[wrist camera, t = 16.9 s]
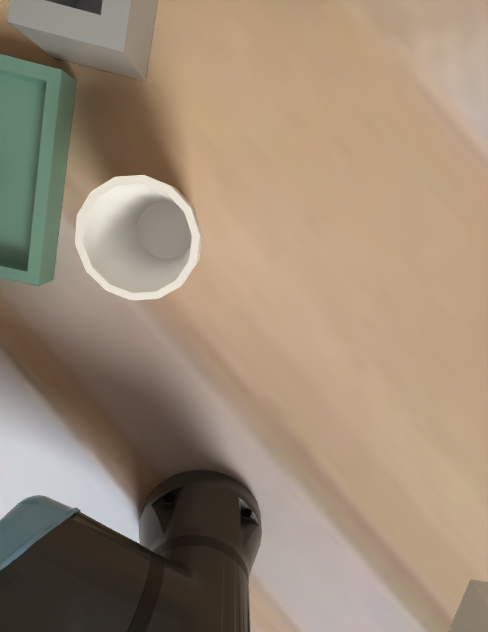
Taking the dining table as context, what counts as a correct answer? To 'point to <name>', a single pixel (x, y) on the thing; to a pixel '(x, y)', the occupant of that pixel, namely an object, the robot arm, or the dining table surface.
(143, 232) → the foam cup
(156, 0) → the grey hollow square block
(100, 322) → the dining table surface
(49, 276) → the tray
